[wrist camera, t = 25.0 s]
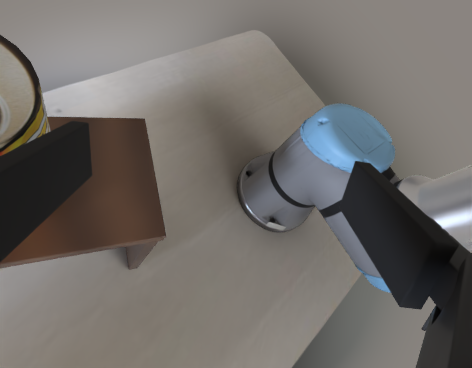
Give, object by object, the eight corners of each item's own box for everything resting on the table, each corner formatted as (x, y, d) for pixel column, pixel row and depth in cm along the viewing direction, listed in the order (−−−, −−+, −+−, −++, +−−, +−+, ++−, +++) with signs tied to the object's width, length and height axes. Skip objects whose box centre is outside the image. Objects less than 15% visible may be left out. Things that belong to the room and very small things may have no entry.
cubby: (128, 185, 47) (144, 118, 32) (140, 267, 43) (166, 236, 28) (-95, 203, 35) (-240, 110, 20) (-107, 318, 31) (-300, 314, 16)
